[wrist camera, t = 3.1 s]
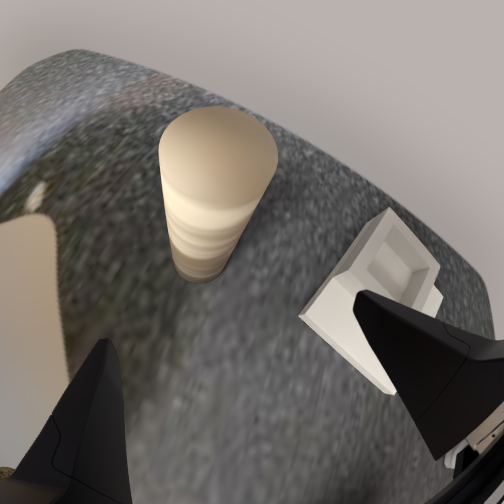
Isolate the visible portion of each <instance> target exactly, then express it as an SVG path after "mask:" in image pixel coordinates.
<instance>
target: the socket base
mask: <svg viewBox="0 0 504 504" xmlns="http://www.w3.org/2000/svg"><path fill="white" fill-rule="evenodd" d="M440 267H441V266H440V265H439V264H438V262H437V261H436V260H435V259H434V257H433V256H432V255H431V254H430V253H429V251H428V250H427V249H426V248H425V246H424V245H423V244H422V243H421V242H420V241H419V239H418V238H417V237H416V236H415V235H414V234H413V232H412V231H411V230H410V229H409V228H408V227H407V226H406V224H405V223H404V222H403V221H402V220H401V219H400V218H399V217H398V216H397V215H396V214H395V212H394V211H393V210H392V209H391V208H390V207H389V208H387V209H386V210H384V211H383V212H381V213H380V214H379V215H377V216H376V217H374V218H373V219H371V220H370V221H368V222H367V223H366V224H365V226H364V227H363V228H362V230H361V231H360V233H359V234H358V236H357V237H356V239H355V240H354V241H353V243H352V244H351V246H350V247H349V248H348V250H347V251H346V253H345V254H344V255H343V257H342V258H341V260H340V261H339V262H338V264H337V265H336V266H335V268H334V269H333V271H332V272H331V273H330V275H329V276H328V277H327V279H326V280H325V281H324V283H323V284H322V285H321V287H320V288H319V289H318V290H317V292H316V293H315V294H314V296H313V297H312V298H311V300H310V301H309V302H308V303H307V305H306V306H305V307H304V308H303V310H302V311H301V312H300V313H299V315H298V316H299V317H300V318H301V319H302V320H303V321H304V322H305V323H306V324H307V325H309V326H310V327H311V328H312V329H313V330H314V331H315V332H316V333H317V334H318V335H320V336H321V337H322V338H323V339H324V340H325V341H326V342H327V343H328V344H330V345H331V346H332V347H333V348H334V349H335V350H336V351H337V352H338V353H340V354H341V355H342V356H343V357H344V358H345V359H346V360H347V361H348V362H350V363H351V364H352V365H353V366H354V367H355V368H356V369H357V370H359V371H360V372H361V373H362V374H363V375H364V376H365V377H366V378H368V379H369V380H370V381H371V382H372V383H373V384H374V385H376V386H377V387H378V388H379V389H380V390H381V391H382V392H383V393H385V394H391V395H394V394H395V393H396V389H395V387H394V385H393V384H392V382H391V380H390V379H389V377H388V375H387V374H386V372H385V370H384V369H383V367H382V365H381V364H380V362H379V360H378V359H377V357H376V355H375V354H374V352H373V351H372V349H371V347H370V346H369V344H368V342H367V340H366V338H365V336H364V334H363V332H362V330H361V328H360V326H359V324H358V322H357V320H356V318H355V316H354V313H353V304H354V301H355V297H356V294H357V292H358V291H361V290H365V289H368V290H370V291H373V292H375V293H377V294H380V295H382V296H384V297H387V298H389V299H391V300H394V301H396V302H398V303H401V304H403V305H406V306H408V307H410V308H413V309H415V310H417V311H420V312H422V313H424V314H427V315H429V316H431V317H434V318H435V316H436V314H437V311H438V309H439V307H440V304H441V302H442V299H443V296H442V294H441V293H440V292H439V291H438V289H437V288H436V287H435V286H434V282H435V279H436V277H437V274H438V272H439V269H440Z"/></svg>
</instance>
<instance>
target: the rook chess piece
mask: <svg viewBox="0 0 504 504" xmlns="http://www.w3.org/2000/svg"><path fill="white" fill-rule="evenodd" d="M467 444H468V443H467V442H466V440H465V439H464V440H463V441H461V442H460V443H459V444H458V445H457V446H455V447H454V448H453V449H452V450H450V451H449V452H448V453H446V454H445V457H444V463H445V466H446V467H447V468H452V469H455V462H456V454H457V453H459V452H460V451H461V450H462V449H463V448H464V447H465V446H466V445H467Z"/></svg>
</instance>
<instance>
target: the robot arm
mask: <svg viewBox="0 0 504 504" xmlns="http://www.w3.org/2000/svg"><path fill="white" fill-rule="evenodd" d="M353 313H354V316H355V318H356V320H357V322H358V324H359V326H360V328H361V330H362V332H363V334H364V336H365V338H366V340H367V342H368V344H369V346H370V347H371V349H372V351H373V352H374V354H375V355H376V357H377V359H378V360H379V362H380V364H381V365H382V367H383V369H384V370H385V372H386V374H387V375H388V377H389V379H390V380H391V382H392V384H393V385H394V387H395V389H396V391H397V392H398V394H399V396H400V397H401V399H402V401H403V403H404V404H405V406H406V408H407V410H408V411H409V413H410V415H411V417H412V419H413V420H414V422H415V424H416V426H417V428H418V430H419V432H420V433H421V435H422V437H423V439H424V441H425V443H426V445H427V446H428V448H429V450H430V452H431V454H432V456H433V458H434V459H435V461H437V460H438V459H440V458H441V457H442V456H444V455H445V454H446V453H448V452H449V451H450V450H452V449H453V448H454V447H455V446H457V445H458V444H459V443H460V442H461V441H463V440H464V439H465V440H466V442H467V443H468V444H467V445H466V446H465V447H464V448H463V449H462V450H461V451H460V452H459V453H457V454H456V462H455V469H454V475H453V479H454V480H453V481H452V482H451V483H450V484H449V485H447V486H446V487H445V488H444V489H443V490H441V491H440V492H439V493H438V494H437V495H435V496H434V497H433V498H432V499H430V500H429V501H428V502H426V503H425V504H501V503H502V502H503V501H504V340H491V339H488V338H485V337H482V336H479V335H476V334H473V333H471V332H468V331H465V330H462V329H460V328H457V327H455V326H452V325H450V324H447V323H445V322H443V321H442V322H441V321H440V320H438V319H436V318H434V317H431V316H429V315H427V314H424V313H422V312H420V311H417V310H415V309H413V308H410V307H408V306H406V305H403V304H401V303H398V302H396V301H394V300H391V299H389V298H387V297H384V296H382V295H380V294H377V293H375V292H373V291H370V290H368V289H365V290H361V291H358V292H357V294H356V297H355V301H354V304H353ZM0 504H132V497H131V490H130V483H129V475H128V466H127V455H126V442H125V424H124V399H123V391H122V383H121V373H120V363H119V357H118V354H117V352H116V349H115V347H114V345H113V343H112V341H111V339H109V338H105V339H99V340H98V341H97V342H96V344H95V345H94V347H93V348H92V350H91V351H90V353H89V354H88V356H87V357H86V359H85V360H84V362H83V363H82V365H81V366H80V368H79V369H78V371H77V372H76V374H75V376H74V377H73V379H72V380H71V382H70V383H69V385H68V387H67V388H66V390H65V392H64V393H63V395H62V396H61V398H60V400H59V401H58V403H57V405H56V406H55V408H54V410H53V412H52V415H50V417H49V418H48V420H47V422H46V424H45V425H44V427H43V429H42V430H41V432H40V434H39V435H38V437H37V438H36V440H35V441H34V443H33V444H32V446H31V447H30V449H29V450H28V452H27V453H26V454H25V456H24V457H23V459H22V460H21V462H20V464H19V465H18V466H17V468H16V469H15V471H14V472H13V473H12V474H11V475H10V476H9V477H8V478H6V479H4V480H2V481H0Z"/></svg>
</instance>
